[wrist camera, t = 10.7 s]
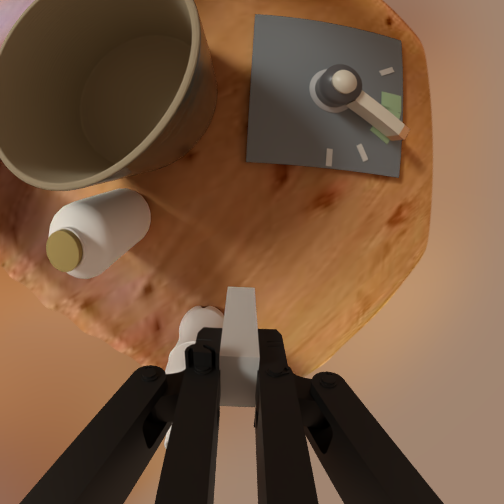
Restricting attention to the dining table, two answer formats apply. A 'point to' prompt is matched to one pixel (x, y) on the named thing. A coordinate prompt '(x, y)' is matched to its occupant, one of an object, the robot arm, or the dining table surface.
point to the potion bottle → (97, 232)
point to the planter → (102, 90)
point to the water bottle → (191, 337)
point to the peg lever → (357, 100)
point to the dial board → (307, 103)
